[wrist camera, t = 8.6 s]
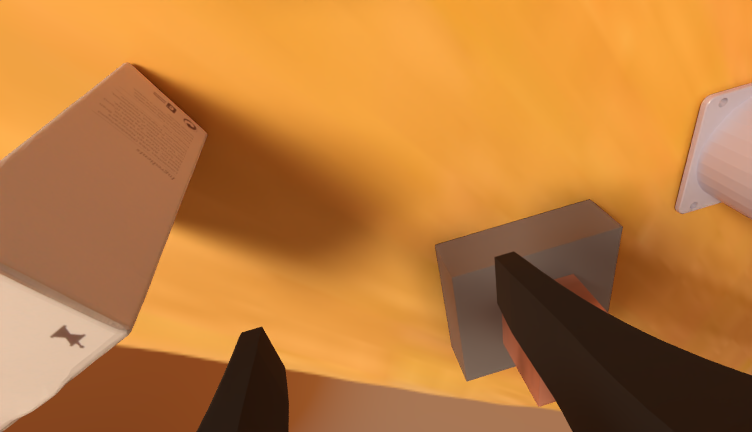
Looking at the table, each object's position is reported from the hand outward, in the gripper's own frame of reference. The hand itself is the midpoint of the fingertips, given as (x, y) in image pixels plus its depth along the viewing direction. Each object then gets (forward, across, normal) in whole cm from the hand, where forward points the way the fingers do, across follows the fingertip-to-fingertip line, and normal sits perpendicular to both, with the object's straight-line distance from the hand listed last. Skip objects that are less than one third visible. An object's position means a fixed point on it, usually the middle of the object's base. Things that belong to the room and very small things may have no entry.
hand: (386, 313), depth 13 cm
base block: (+10, -9, +12) cm, 18 cm away
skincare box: (+11, +9, -4) cm, 14 cm away
